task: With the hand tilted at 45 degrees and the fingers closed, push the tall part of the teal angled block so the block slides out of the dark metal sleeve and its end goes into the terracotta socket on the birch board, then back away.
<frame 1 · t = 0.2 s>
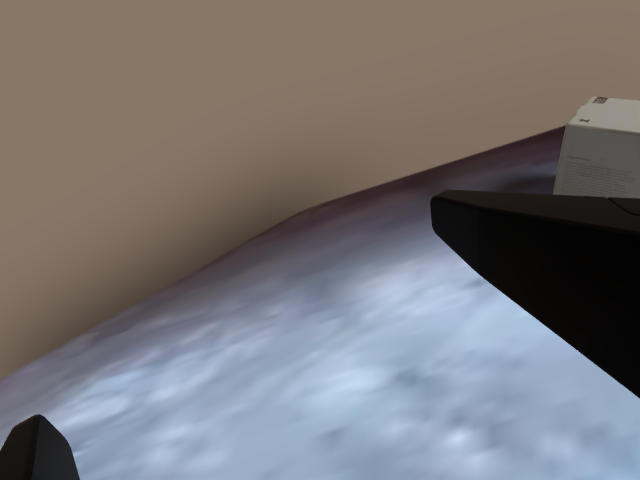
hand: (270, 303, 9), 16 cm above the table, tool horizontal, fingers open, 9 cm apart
skincare box: (599, 198, 38), on the table
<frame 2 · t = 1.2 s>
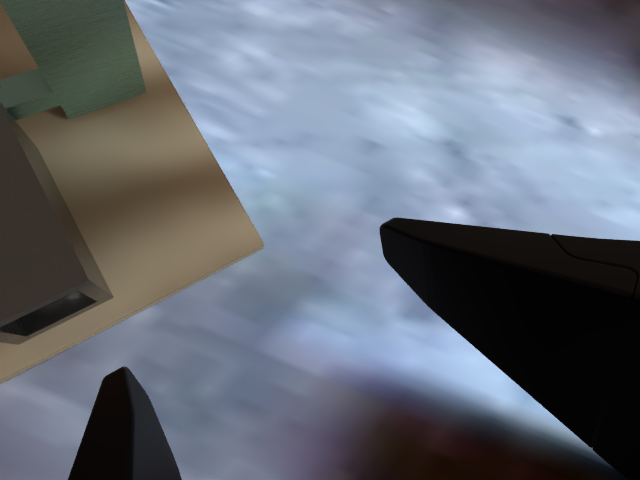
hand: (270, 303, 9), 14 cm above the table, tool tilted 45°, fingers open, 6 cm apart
sleeve: (8, 226, 19), on the birch board, point 3 cm above the table
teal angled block: (24, 80, 17), point 7 cm above the table, slide at 0.0 cm
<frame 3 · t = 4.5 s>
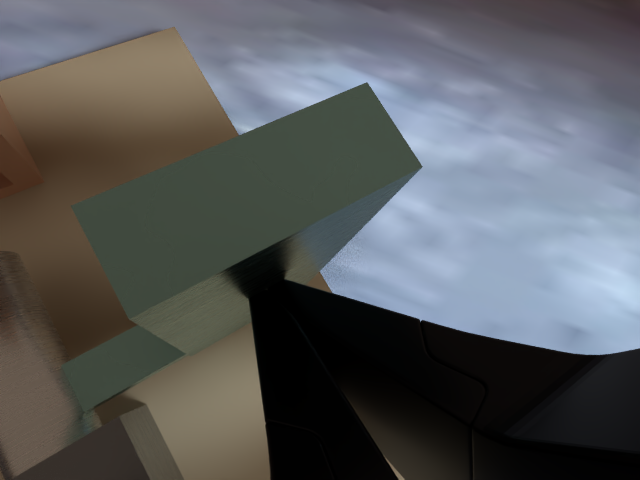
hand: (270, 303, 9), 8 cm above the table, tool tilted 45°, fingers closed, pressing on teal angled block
birch board: (80, 422, 15), on the table
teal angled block: (182, 425, 9), point 7 cm above the table, slide at 0.0 cm, touching gripper
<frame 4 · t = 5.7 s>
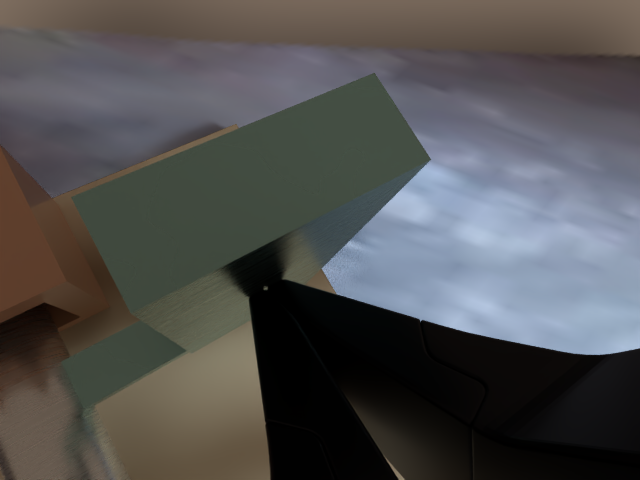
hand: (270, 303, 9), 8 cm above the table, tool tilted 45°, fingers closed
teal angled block: (183, 423, 9), point 7 cm above the table, slide at 5.3 cm
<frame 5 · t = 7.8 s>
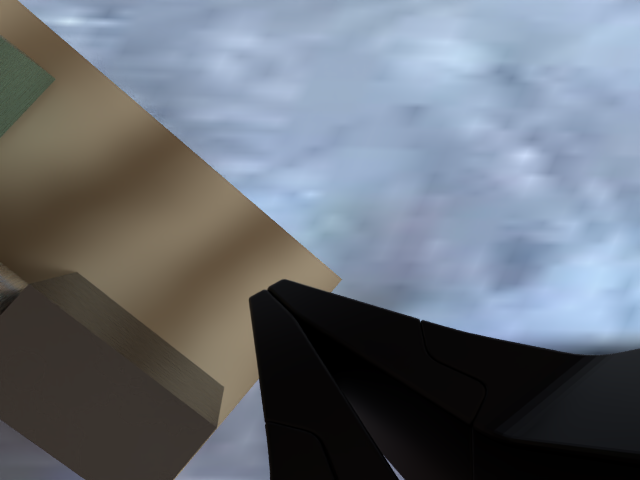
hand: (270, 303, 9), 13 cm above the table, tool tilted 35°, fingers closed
birch board: (41, 297, 20), on the table
sleeve: (105, 383, 18), on the birch board, point 3 cm above the table
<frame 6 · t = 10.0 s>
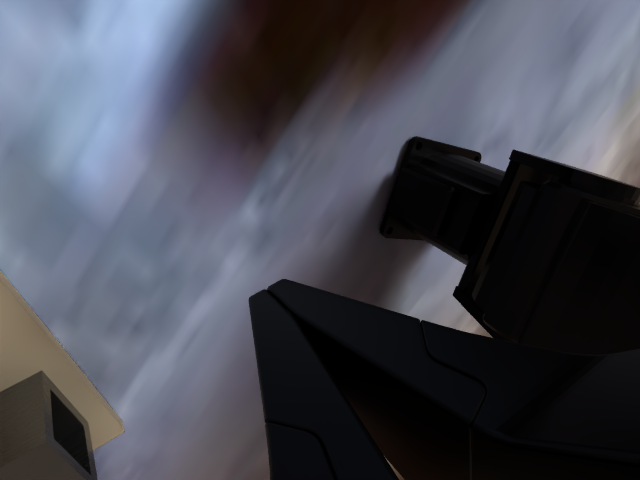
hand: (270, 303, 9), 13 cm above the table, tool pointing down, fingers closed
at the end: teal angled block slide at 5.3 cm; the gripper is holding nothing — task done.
